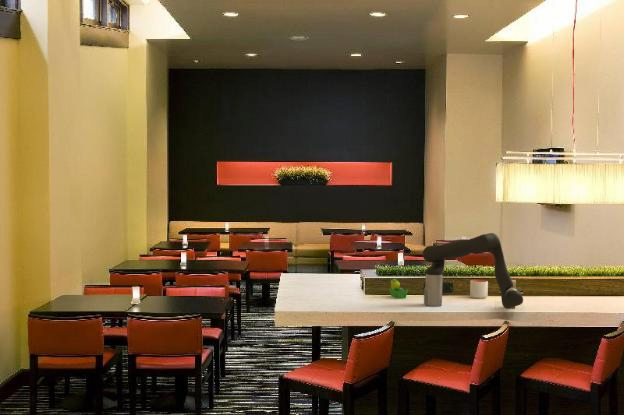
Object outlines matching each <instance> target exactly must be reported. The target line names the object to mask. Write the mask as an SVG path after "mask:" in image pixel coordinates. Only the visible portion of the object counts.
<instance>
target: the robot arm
mask: <svg viewBox="0 0 624 415" xmlns="http://www.w3.org/2000/svg"><path fill="white" fill-rule="evenodd" d="M490 252H491V254H492V256H493V260H494V270H493V272H494V277H495V281H496V283H497V284H498V287H499V291H498V293H499V294H498V295H500V296H501V297H500V299H501V300H500V301H502V305H503V307H504V308H506V309H505V310H511V309H510V308H513V307H515V306H518V305H521V304H522V303H523V302H524V297H523V296H524V290H523V289H518V288H517V287H516V288H515V287H513V282H512V280H513V279H512V278H511V275H510V272H509V271H508V268H507V264H506V261H505V256H504V255H505V254H504V252H503V248H502V244H501V241H500V238H499V236H498V235H497V234H496V233H494V232H490V233H483V234H480V235H477V236H475V237H472V238H470V239H466V238H463V239H457V240H452V241H449V242H446V243H442V244H440V245H428V246H426V247H425V248H424V249H423V251H422V255H421V256H422V258H423V260H425V262H427V263H431V265H430V266H429V267H427V268H426V269H425V287H424V289H423V305H425V306H428V307H441V306H442V305H443V274H444V273H443V272H444V270H445V262H446V261H445V260H446V259H456V258H457V259H458V258H463V257H467V256H469V255H471V254H476V253H478V254H479V253H490Z"/></svg>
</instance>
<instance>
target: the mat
mask: <svg viewBox="0 0 624 415" xmlns="http://www.w3.org/2000/svg"><path fill="white" fill-rule="evenodd" d="M494 309H498V310H499V309H500V310H507V309H506V308H504V307H503V305H502V300H500V301H499V300H494ZM514 310H520V311H526V307H525V303H524V301H523V303H522V304H521V305H518V306H515V309H514Z"/></svg>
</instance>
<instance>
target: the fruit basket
mask: <svg viewBox="0 0 624 415" xmlns="http://www.w3.org/2000/svg"><path fill="white" fill-rule="evenodd" d="M388 290H389V293H390V297H392V298H394V299H397V300H400V299H401V300H403V299H405V300H406V298H407V296H408V292H409V289H406V288H404V287H401V283H400V282H399V281H398V280H397V279H396V278H393V279H391V281H390V287H388Z"/></svg>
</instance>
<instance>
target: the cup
mask: <svg viewBox="0 0 624 415" xmlns="http://www.w3.org/2000/svg"><path fill="white" fill-rule="evenodd" d="M469 286H470V287H469V289H470V290H469V296H470V298H472V299H476V298H477V299H479V300H482V299H487V298H488V293H489V292H488V290H489V288H488V287H489V282H488V280H484V279H470V285H469Z"/></svg>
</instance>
